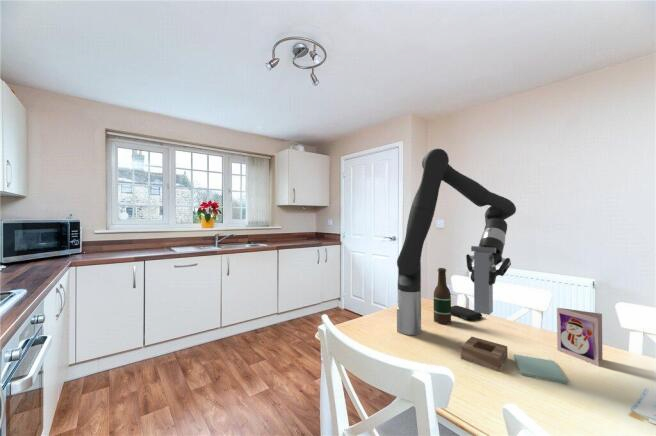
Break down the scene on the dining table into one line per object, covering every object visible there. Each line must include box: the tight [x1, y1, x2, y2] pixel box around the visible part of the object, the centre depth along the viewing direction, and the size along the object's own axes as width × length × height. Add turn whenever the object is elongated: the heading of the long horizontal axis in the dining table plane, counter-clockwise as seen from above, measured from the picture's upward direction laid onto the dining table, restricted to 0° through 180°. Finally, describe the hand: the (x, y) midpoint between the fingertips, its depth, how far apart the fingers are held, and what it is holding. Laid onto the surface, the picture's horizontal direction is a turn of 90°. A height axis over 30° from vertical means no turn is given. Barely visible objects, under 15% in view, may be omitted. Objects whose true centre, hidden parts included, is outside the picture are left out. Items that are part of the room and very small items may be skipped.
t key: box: [470, 245, 496, 316], centre depth 91 cm, size 4×7×22 cm, turn 45°
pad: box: [512, 353, 569, 385], centre depth 85 cm, size 11×12×1 cm
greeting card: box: [556, 307, 603, 367], centre depth 92 cm, size 11×7×15 cm, turn 20°
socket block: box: [460, 336, 509, 372], centre depth 91 cm, size 11×11×4 cm
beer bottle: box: [433, 267, 452, 325], centre depth 124 cm, size 8×8×24 cm
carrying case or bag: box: [451, 305, 483, 322], centre depth 132 cm, size 11×3×15 cm
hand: (481, 282), depth 90 cm, fingers closed on t key, 4 cm apart
